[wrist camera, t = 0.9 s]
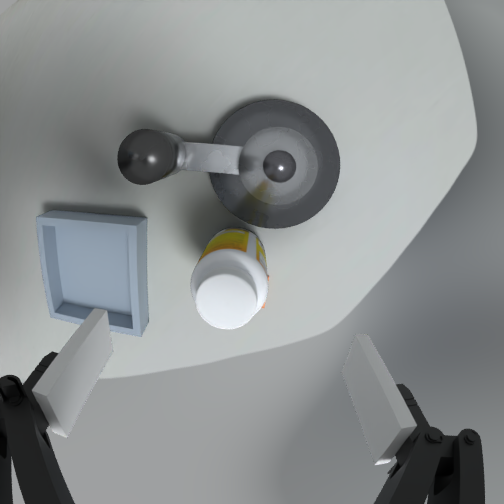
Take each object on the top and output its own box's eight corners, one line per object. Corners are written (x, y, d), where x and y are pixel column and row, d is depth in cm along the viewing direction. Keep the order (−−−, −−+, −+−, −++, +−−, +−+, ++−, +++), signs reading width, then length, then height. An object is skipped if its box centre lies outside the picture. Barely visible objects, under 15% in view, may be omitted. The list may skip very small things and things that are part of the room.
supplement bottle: (195, 257, 29) (165, 304, 19) (232, 213, 27) (218, 242, 18) (239, 293, 30) (231, 353, 20) (277, 252, 28) (288, 299, 19)
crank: (316, 134, 23) (339, 131, 17) (306, 204, 25) (324, 222, 19) (150, 118, 22) (121, 111, 16) (144, 188, 24) (115, 201, 18)
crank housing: (206, 216, 27) (203, 221, 26) (219, 96, 24) (217, 92, 22) (323, 229, 28) (328, 235, 26) (340, 114, 24) (347, 112, 23)
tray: (62, 304, 31) (50, 317, 28) (51, 210, 27) (36, 216, 24) (148, 321, 31) (141, 336, 28) (147, 217, 27) (136, 225, 25)
